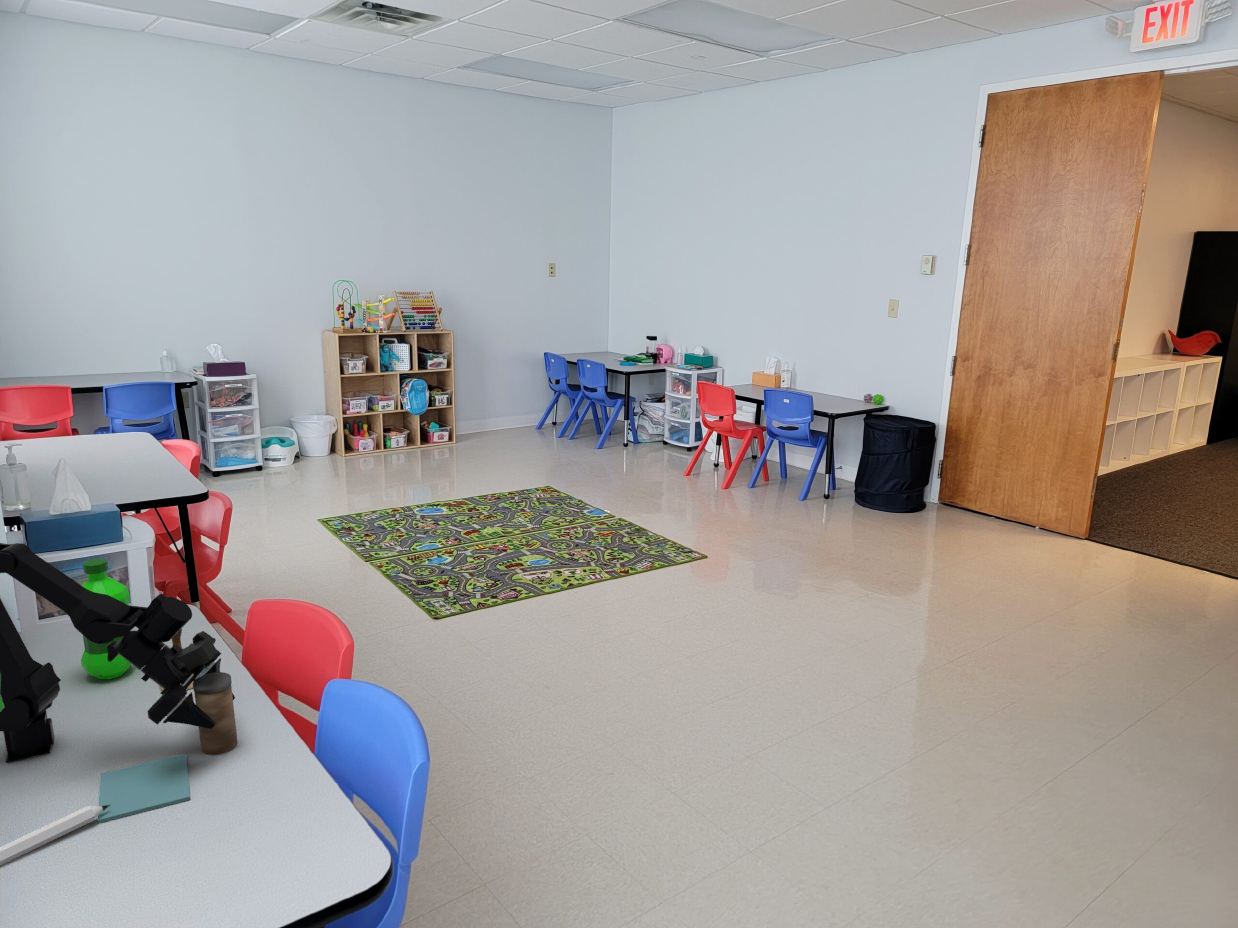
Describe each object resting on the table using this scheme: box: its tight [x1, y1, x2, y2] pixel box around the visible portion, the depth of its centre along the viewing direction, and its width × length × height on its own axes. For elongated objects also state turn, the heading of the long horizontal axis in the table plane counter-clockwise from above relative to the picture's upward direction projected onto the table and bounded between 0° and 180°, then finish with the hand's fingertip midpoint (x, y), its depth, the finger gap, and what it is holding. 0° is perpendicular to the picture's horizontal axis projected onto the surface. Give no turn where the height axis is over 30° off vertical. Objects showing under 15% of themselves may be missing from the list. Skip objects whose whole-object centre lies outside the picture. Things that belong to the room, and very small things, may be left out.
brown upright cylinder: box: [192, 671, 238, 756], centre depth 155 cm, size 6×6×13 cm
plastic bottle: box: [80, 558, 132, 680], centre depth 179 cm, size 10×10×25 cm
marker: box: [0, 804, 111, 866], centre depth 132 cm, size 3×2×16 cm
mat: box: [97, 753, 191, 824], centre depth 144 cm, size 13×14×1 cm
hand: (223, 712), depth 155 cm, fingers open, 9 cm apart
